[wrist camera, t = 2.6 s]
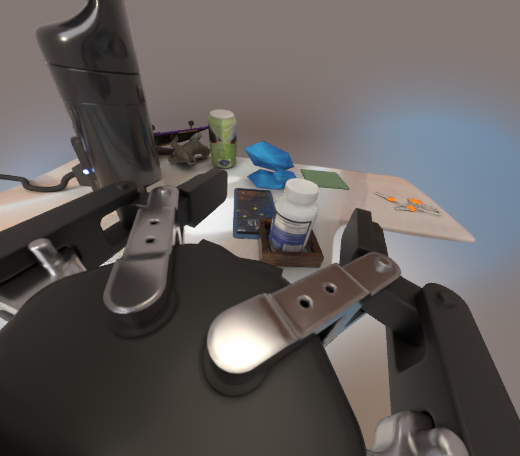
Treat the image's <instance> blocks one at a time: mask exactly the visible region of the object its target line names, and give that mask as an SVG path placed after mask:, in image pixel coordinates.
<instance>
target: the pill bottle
mask: <svg viewBox="0 0 520 456" xmlns="http://www.w3.org/2000/svg"><path fill="white" fill-rule="evenodd" d="M318 193H319V187H318V186H317V185H316V184H315V183H313V182H311V181H309V180H305V179H300V178H293V179H289V180H288V181H287V182H286V184H285V189H284V194H283V195H281V196H280V197H279V198H278V199H277V201H276V204H275V209H274V214H273V219H272V224H271V229H270V234H269V240H268V243H269V246H270V248H271V249H272V251H280V252H303V251H304V248H305V246H306V243H307V241H308V238H309V235H310V232H311V230H312V227H313V224H314V222H315V219H316V217H317V213H318V206H317V204H316V203H315V201H316V200H317V197H318Z"/></svg>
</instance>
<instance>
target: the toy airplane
mask: <svg viewBox="0 0 520 456" xmlns="http://www.w3.org/2000/svg"><path fill="white" fill-rule="evenodd" d="M188 124H189V125H190V126H191V127H192V125H194V122H193V121H189V122H188ZM152 129H153V130H155V127H154V126H153V125H152ZM206 129H208V126H207V127H200V128H193V129H192V128H191V129H186V130H178V131H171V132H164V133H160V132H158V133H153V134H154V139H155V144H156V148H157V147H161V146H165V145H169V144H170V143H171V142H172V139H173V138H174V136H175V135H177V136H178V139H179V140H178V142H177V143H179V142H183V141H186V140H189V139H191V138H193V137H195V135H196V133H198V132H200V131H203V130H206Z"/></svg>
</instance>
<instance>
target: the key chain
mask: <svg viewBox="0 0 520 456" xmlns="http://www.w3.org/2000/svg"><path fill="white" fill-rule="evenodd" d="M375 194H377V195H379V196H382V197H384V198H386V199H387V200H389V201H393V202H394V201H395V202H396V203H398V204H400V205H403V204H401V203H399V202H397V201H396V200H395V199H394V198H392V197H387V196H384V195H383V194H379V193H377V192H376V193H375ZM408 201H409V202H410V203H412V204H408V205H403V206H405V207H394V208H395V209H396V210H410V211H415V210H416V209H419V210H423V211H426V212H430V213H434V214H437V215H442V214H441V212H440V211H439V210H438V209H436V208H435V207H432V206H427V207H431V208H434V209H435V210H436V211H438V213H435V212H432V211H428V210H424V208H423V207H421V206H425V205H424V203H423V202H421V201H420V200H417V199H414V198H409V199H408ZM410 205H413V206H410ZM416 205H417V206H416ZM417 207H418V208H417Z"/></svg>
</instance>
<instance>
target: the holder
mask: <svg viewBox="0 0 520 456" xmlns="http://www.w3.org/2000/svg"><path fill="white" fill-rule="evenodd" d="M272 219H273V218H266V217H259V220H258V235H259V237H258V240H259V252H260V261H262V262H265V263H268V264H270V265H273V266H292V267H320V265H321V263H322V261H323V259H324V256H323V254H322V251H321V249H320V246H319V244H318V242H317V239H316V237H315V235H314V232H313V230H311V232H310V235H309V238H308V241H307V243H306V246H307V249H308V252H309V253H303V252H280V251H268V246H267V238H266V230H265V229H271V224H272Z"/></svg>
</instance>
